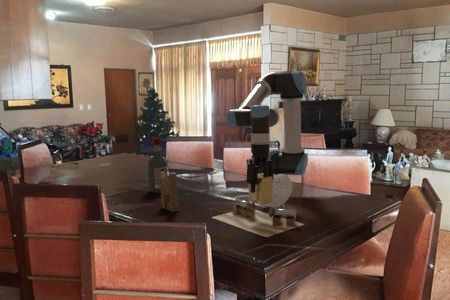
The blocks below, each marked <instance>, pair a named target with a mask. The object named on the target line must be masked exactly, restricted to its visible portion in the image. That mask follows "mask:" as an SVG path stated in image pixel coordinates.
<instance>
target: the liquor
mask: <svg viewBox="0 0 450 300" xmlns="http://www.w3.org/2000/svg"><path fill="white" fill-rule="evenodd" d="M152 141H153V155H152V157H151V159H149V161H148V163H147V168H148V190H149V192H150V193H153V192H154V193H153V194H161V185H160V179H163V178H167V180H168V181H169V173H168V161H167V160H166V158H165V157H163V156H162V153H161V138H160V137H153V140H152Z"/></svg>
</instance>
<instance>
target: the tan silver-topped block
mask: <svg viewBox="0 0 450 300" xmlns="http://www.w3.org/2000/svg"><path fill="white" fill-rule="evenodd" d="M233 203H234V206H232V212H233V214H236V215H239V214H242V217H245V218H248V217H252V216H255V210H256V209H255V208H256V203H253V202H249V201H248V200H247V201H246V200H243V199H239V198H235V200H234V202H233Z"/></svg>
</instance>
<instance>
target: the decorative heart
mask: <svg viewBox="0 0 450 300" xmlns="http://www.w3.org/2000/svg"><path fill="white" fill-rule="evenodd" d="M262 174H263V173H262ZM279 180H280V181H279ZM273 181H274V182H273ZM277 182H278V183H277ZM275 183H276V184H275ZM272 184H273V185H272V203H268V204H265V205H264V206H265V207H267V206H268V207H269V208H270V207H273V209H281V206H282V209H285V203H286V202H288V200H289V199H290V196H292V195H291V194H292V191H293V182H292V180H291V177H290V176H288V175H286V174H278V175H274V180H272ZM274 184H275V185H274ZM273 186H274V187H273ZM276 186H277V187H276ZM279 186H280V187H279ZM275 194H276V195H275Z"/></svg>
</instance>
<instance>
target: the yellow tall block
mask: <svg viewBox="0 0 450 300" xmlns="http://www.w3.org/2000/svg"><path fill="white" fill-rule="evenodd" d="M247 184H248V183H247ZM256 185H257V201H255V200H252V193H251V185H250V184H248V185H247V186H248V191H247V192H248V195H247V197H248V199H247V200H248V202H253V203H255V205H256V204H257V205H260V206H265V204H266V205H267V204H268V203H272V176H268V175H263V174H258V176H257V181H256Z"/></svg>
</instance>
